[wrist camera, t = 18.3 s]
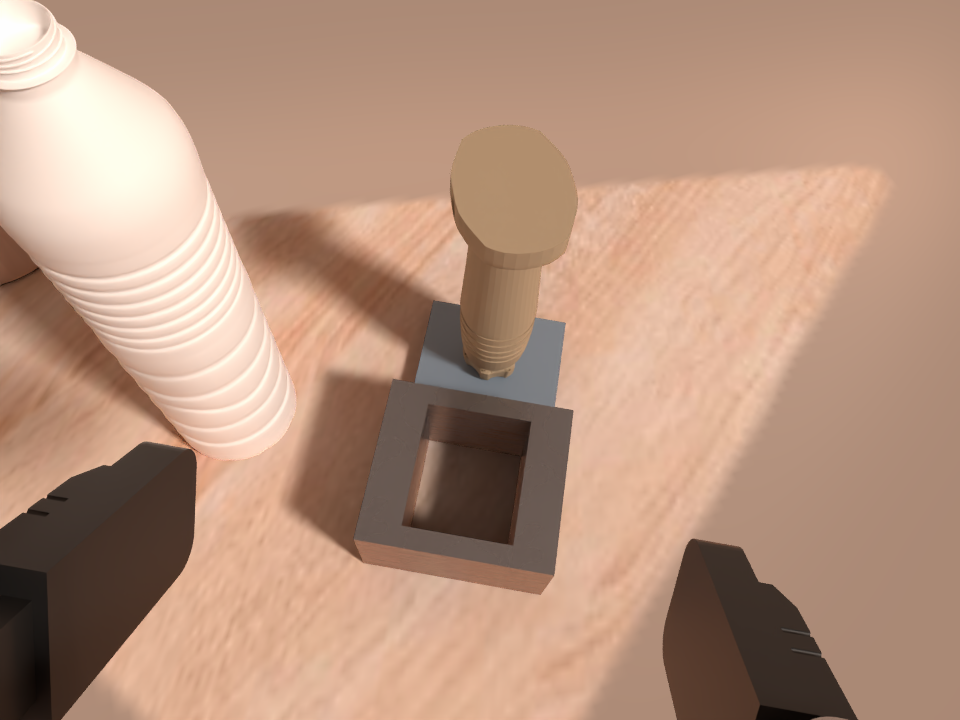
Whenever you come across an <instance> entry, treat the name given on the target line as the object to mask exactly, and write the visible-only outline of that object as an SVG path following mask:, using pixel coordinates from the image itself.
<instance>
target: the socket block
mask: <svg viewBox="0 0 960 720" xmlns="http://www.w3.org/2000/svg"><path fill="white" fill-rule="evenodd" d="M572 418H573V410H569V409H563V408H557V407H551V406H546V405H540V404H534V403H528V402H523V401H517V400H511V399H505V398H499V397H494V396H488V395H482V394H476V393H471V392H465V391H459V390H453V389H447V388H442V387H436V386H430V385H424V384H419V383H413V382H407V381H401V380H395V379H393V381H392V385H391V389H390V393H389V397H388V401H387V405H386V409H385V413H384V417H383V421H382V425H381V430H380V434H379V438H378V442H377V446H376V450H375V454H374V458H373V462H372V466H371V470H370V474H369V478H368V482H367V486H366V490H365V494H364V498H363V502H362V506H361V510H360V514H359V518H358V522H357V526H356V530H355V535H354V539H353V540H354V542H355V544H356V547H357V549H358V551H359V554H360V556H361V558H362V561H363V563H368V564H373V565H379V566H384V567H390V568H395V569H401V570H406V571H412V572H417V573H423V574H429V575H434V576H440V577H445V578H451V579H456V580H462V581H467V582H473V583H478V584H484V585H489V586H495V587H500V588H506V589H511V590H517V591H522V592H528V593H533V594H539V595H541V593H542V592H543V590H544V589H545V588H546V586H547V585H548V584H549V582H550V581H551V579H552V578H553V577H554V573H555V564H556V556H557V547H558V538H559V530H560V521H561V513H562V504H563V496H564V487H565V478H566V470H567V461H568V453H569V444H570V436H571V427H572ZM429 440H432V441H438V442H444V443H449V444H455V445H461V446H467V447H472V448H478V449H484V450H489V451H495V452H501V453H506V454H512V455H518V456H521V461H520V468H519V474H518V481H517V488H516V495H515V501H514V508H513V515H512V522H511V528H510V535H509V542H508V545H507V544H501V543H496V542H490V541H485V540H479V539H473V538H468V537H462V536H457V535H451V534H445V533H440V532H434V531H429V530H423V529H418V528H412V527H411V523H412V519H413V514H414V509H415V505H416V500H417V495H418V490H419V486H420V481H421V476H422V472H423V467H424V462H425V458H426V453H427V448H428V443H429Z"/></svg>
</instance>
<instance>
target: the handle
mask: <svg viewBox="0 0 960 720" xmlns="http://www.w3.org/2000/svg"><path fill="white" fill-rule="evenodd" d="M450 195H451V203H452V210H453V215H454V220H455V223H456V226H457V228H458V230H459V232H460V234H461V235H462V237H463V238H464V240H465V242H466V243H467V244H468V253H467V260H466V267H465V273H464V280H463V286H462V293H461V300H460V326H461V337H462V343H463V356H464V359H465V362H466V364H468V365H471V366H472V367H473V368H475V369H476V371H477V372H478V373H479V375H480V378H481V379H484V380H489V379H490V378H493V377H499V376H500V377H504V378H507V377H508V376H510V375H511V374H512V373H513V371H514V368H515V363H516V362H517V361H518V360H519V358H520V357H521V355H522V354H523V352H524V350H525V348H526V346H527V343H528V341H529V338H530V335H531V332H532V329H533V325H534V321H535V317H536V312H537V304H538V295H539V286H540V276H541V268H542V266H544V265H547V264H550V263H551V262H553V261H555V260H556V259H558V258H559V257H560V256H562V255H563V254H564V253H565V251H566V248H567V245H568V241H569V238H570V234H571V231H572V227H573V223H574V219H575V216H576V212H577V205H578V196H577V190H576V186H575V183H574V180H573V176H572V173H571V170H570V167H569V165H568V163H567V160H566V159H565V158H564V156H563V155H562V154H561V152H560V151H559V150H558V149H557V148H556V147H555V146H554V145H553V144H552V143H551V142H550V141H549V140H548V139H547V138H546V137H545V136H544V135H543V134H542V133H541V132H540V131H538V130H535V129H532V128H528V127H525V126H516V125H499V126H493V127H487V128H484V129H480V130H477V131H475V132H473V133H471V134H469V135H468V136H466V137H465V138H463V139H462V141H461V144H460V146H459V148H458V151H457V153H456V156H455V159H454V162H453V165H452V170H451V180H450Z"/></svg>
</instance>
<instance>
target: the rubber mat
mask: <svg viewBox="0 0 960 720" xmlns="http://www.w3.org/2000/svg"><path fill="white" fill-rule="evenodd" d="M565 324H566V323H564V322H558V321H552V320H546V319H540V318H535V321H534V325H533V329H532V332H531V335H530V338H529V341H528V343H527V346H526V348H525V350H524V352H523V354H522V355H521V357H520V358H519V360H518V361H517V362H516V363H515V368H514V371H513V373H512V374H511V375H510V376H508V377H507V378H504V377H500V376H499V377H493V378H490V379H489V380H484V379H481V378H480V375H479V373H478V372H477V371H476V369H475V368H473V367H472V366H471V365H468V364H466V362H465V359H464V356H463V343H462V337H461V326H460V305H457V304H451V303H445V302H439V301H433V305H432V310H431V314H430V318H429V323H428V327H427V331H426V336H425V340H424V344H423V348H422V353H421V357H420V361H419V366H418V370H417V374H416V379H415V383H419V384H424V385H430V386H436V387H442V388H447V389H453V390H459V391H465V392H471V393H476V394H482V395H488V396H494V397H499V398H505V399H511V400H517V401H523V402H528V403H534V404H540V405H546V406H551V407H555V401H556V393H557V385H558V377H559V370H560V362H561V354H562V347H563V339H564V331H565Z"/></svg>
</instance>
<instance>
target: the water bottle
mask: <svg viewBox="0 0 960 720" xmlns="http://www.w3.org/2000/svg"><path fill="white" fill-rule="evenodd" d="M0 226H1V227H2V228H3V229H4V230H5V231H6V233H7V234H8V235H9V236H10V237H12V238H13V239H14V241H15V242H16V243H17V244H18V245H19V246H20V247H21V248H22V249H23V250H24V251H25V252H27V253H28V254H29V256H30V258H31V260H32V261H33V262H34V263H35V264H36V265H37V266H38V267H39V268H40V269H41V270H42V272H43V274H44V275H45V276H46V277H47V278H48V279H49V280H50V281H51V282H52V283H53V285H54V287H55V288H56V289H57V290H58V291H59V292H60V293H61V294H62V295H63V296H64V298H65V300H66V301H67V302H68V303H70V304H71V305H72V306H73V308H74V310H75V311H76V312H77V313H78V314H79V315H80V316H81V317H82V318H83V320H84V322H85V323H86V324H87V325H88V326H89V327H90V328H92V330H93V332H94V333H95V335H96V336H97V337H98V339H99V340H100V342H101V343H102V344H103V345H104V347H105V348H106V349H107V350H108V351H109V352H110V353H112V354H113V355H114V356H115V357H116V358H117V360H118V362H119V363H120V365H121V366H122V367H123V368H124V370H125V371H126V372H127V373H128V374H130V375H131V376H132V377H133V378H134V380H135V381H136V383H137V385H138V386H139V387H140V388H141V389H142V390H143V391H144V392H145V393H146V394H148V396H149V398H150V399H151V401H152V402H153V403H154V405H155V406H157V407H158V408H159V409H160V410H161V411H162V413H163V414H164V416H165V417H166V419H167V420H168V421H169V422H170V423H171V424H173V425H174V427H175V428H176V430H177V432H178V433H179V434H180V435H181V436H182V437H183V438H184V439H185V440H186V441H187V442H188V443H189V445H191V446H192V447H193V448H194V449H196V450H197V451H198V452H200V453H201V454H203V455H205V456H208V457H210V458H214V459H218V460H243V459H247V458H251V457H254V456H256V455H259V454H261V453H262V452H264V451H265V450H266V449H267V448H270V447H272V446H273V445H275V444H276V443H277V442H278V441H279V440H280V439H281V438H282V437H283V435H284V434H285V433H286V431H287V430H288V428H289V426H290V423H291V421H292V419H293V417H294V414H295V410H296V392H295V388H294V384H293V382H292V379H291V377H290V374H289V372H288V370H287V368H286V366H285V364H284V361H283V358H282V356H281V353H280V351H279V349H278V347H277V344H276V341H275V339H274V336H273V334H272V332H271V330H270V328H269V326H268V322H267V319H266V317H265V315H264V313H263V311H262V308H261V305H260V303H259V300H258V298H257V295H256V293H255V291H254V289H253V287H252V284H251V281H250V278H249V276H248V273H247V271H246V269H245V267H244V265H243V263H242V261H241V259H240V257H239V254H238V251H237V249H236V247H235V245H234V242H233V239H232V237H231V235H230V233H229V230H228V227H227V225H226V223H225V220H224V219H223V216H222V213H221V210H220V208H219V206H218V204H217V201H216V198H215V196H214V194H213V192H212V190H211V187H210V184H209V182H208V179H207V177H206V176H205V173H204V170H203V167H202V164H201V162H200V158H199V155H198V152H197V150H196V147H195V145H194V143H193V140H192V138H191V136H190V134H189V132H188V130H187V128H186V126H185V125H184V123H183V121H182V120H181V118H180V117H179V116H178V114H177V113H176V111H175V110H174V109H173V107H172V106H171V105H170V104H169V103H168V102H167V101H166V99H164V98H163V97H162V96H161V95H160V94H158V93H157V92H156V91H154V90H153V89H151V88H150V87H149V86H147V85H145V84H144V83H142V82H140V81H139V80H137V79H135V78H133V77H131V76H129V75H127V74H125V73H123V72H121V71H119V70H117V69H115V68H113V67H111V66H109V65H107V64H105V63H103V62H101V61H99V60H97V59H95V58H93V57H91V56H89V55H87V54H85V53H83V52H81V51H79V50H77V49H76V41H75V38H74V36H73V35H72V33H71V32H70V31H69V30H68V29H67V28H65V27H64V26H62V25H60V24H58V23H57V21H56V20H55V18H54V16H53V14H52V13H51V12H50V11H49V10H48V9H47V8H46V7H44V6H43V5H41V4H40V3H38V2H36V1H33V0H0Z"/></svg>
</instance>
